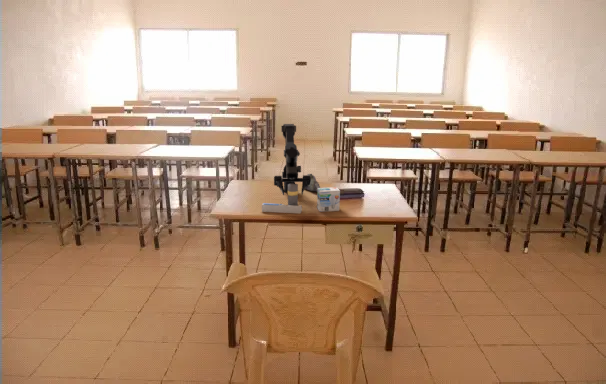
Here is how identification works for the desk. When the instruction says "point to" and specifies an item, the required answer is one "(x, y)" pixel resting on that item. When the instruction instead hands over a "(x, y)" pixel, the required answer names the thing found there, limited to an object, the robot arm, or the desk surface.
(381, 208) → the desk surface
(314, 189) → the mineral rock
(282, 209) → the white blue striped bracket
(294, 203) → the grey banded capsule
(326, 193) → the light bulb box
